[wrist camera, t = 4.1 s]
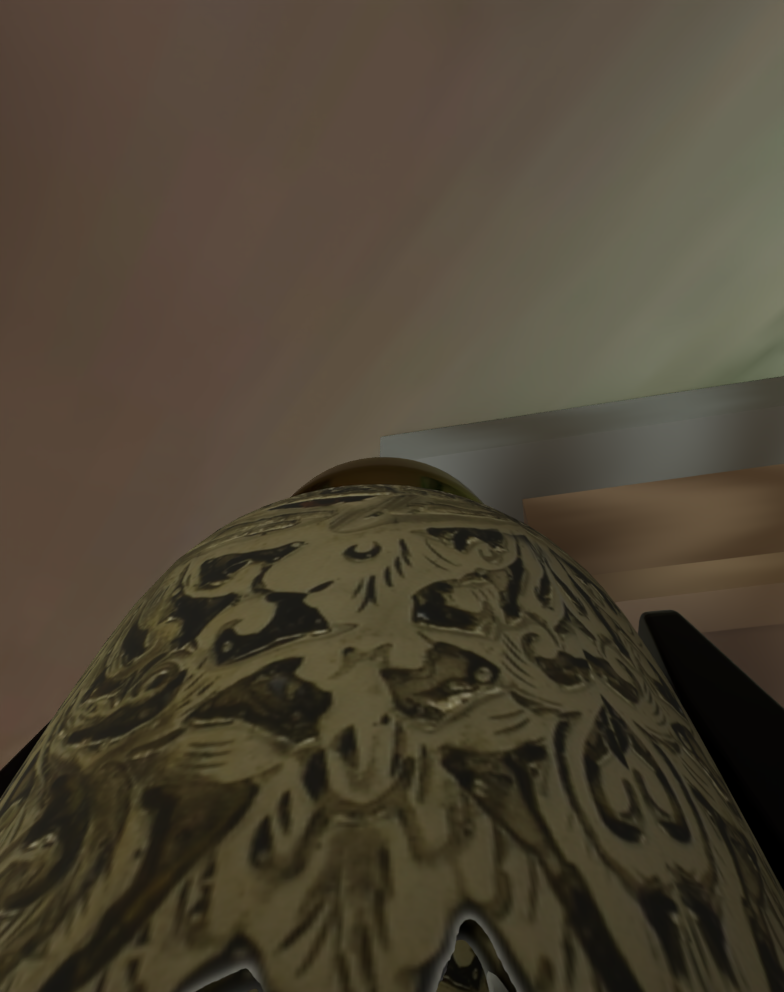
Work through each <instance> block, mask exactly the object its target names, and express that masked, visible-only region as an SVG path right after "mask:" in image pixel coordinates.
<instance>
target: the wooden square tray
mask: <svg viewBox="0 0 784 992" xmlns="http://www.w3.org/2000/svg"><path fill="white" fill-rule="evenodd" d="M380 457H395V458H404V459H410V460H414V461H418V462H422V463H426V464H428V465H431V466H434V467H436V468H438V469H441V470H443V471H445V472H447V473H448V474H450V475H452V476H453V477H455V478H456V479H458V480H459V481H460V482H462V483H463V484H464V485H465V486H467V487H468V488H469V489H470V490H471V491H472V492H473V493H474V494H475V495H476V496H477V497H478V498H479V499H480V500H481V501H482V502H483V503H484V504H485V505H487V506H489V507H492V508H494V509H496V510H498V511H500V512H502V513H504V514H506V515H509V516H511V517H513V518H515V519H517V520H519V521H521V522H523V523H525V524H527V525H528V526H530V527H531V528H533V529H535V530H536V531H538V532H539V533H541V534H543V535H544V536H546V537H547V538H549V539H550V540H551V541H552V542H553V543H555V544H556V545H557V546H558V547H560V548H561V549H562V550H563V551H565V552H566V553H567V554H568V555H569V556H570V557H572V558H573V559H574V560H575V561H576V562H578V563H579V564H580V565H581V566H582V567H583V568H585V569H586V570H587V571H588V572H589V573H590V574H591V576H592V577H593V578H594V579H595V580H596V581H597V582H598V583H599V584H600V585H601V586H602V587H603V588H604V590H605V591H606V592H607V593H608V595H609V596H610V597H611V598H612V600H613V601H614V602H615V603H616V605H617V606H618V607H619V608H620V610H621V611H622V612H623V613H624V615H625V616H626V617H627V619H628V620H629V622H630V623H631V625H632V626H633V628H634V629H635V631H636V632H637V633H638V627H639V619H640V616H641V614H642V613H644V612H648V611H658V610H674V611H677V612H678V613H680V614H681V615H682V616H683V617H684V618H685V619H686V620H688V621H689V622H690V623H691V624H692V625H693V626H694V627H695V628H696V629H697V630H699V631H700V632H701V633H702V634H703V635H704V636H705V637H706V638H707V639H708V640H710V641H711V642H712V643H713V644H714V645H715V646H716V647H717V648H718V649H719V650H720V651H722V652H723V653H724V654H725V655H726V656H727V657H728V658H729V659H730V660H731V661H733V662H734V663H735V664H736V665H737V666H738V667H739V668H740V669H741V670H742V671H744V672H745V673H746V674H747V675H748V676H749V677H750V678H751V679H752V680H753V681H755V682H756V683H757V684H758V685H759V686H760V687H761V688H762V689H763V690H764V691H766V692H767V693H768V694H769V695H770V696H771V697H772V698H773V699H774V700H775V701H777V702H778V703H779V704H780V705H781V706H782V707H783V708H784V376H782V377H776V378H769V379H762V380H756V381H749V382H742V383H736V384H729V385H722V386H716V387H709V388H703V389H696V390H689V391H683V392H676V393H669V394H663V395H656V396H650V397H643V398H636V399H630V400H623V401H616V402H610V403H603V404H597V405H590V406H583V407H577V408H570V409H563V410H557V411H550V412H544V413H537V414H530V415H524V416H517V417H510V418H504V419H497V420H490V421H484V422H477V423H471V424H464V425H457V426H451V427H444V428H437V429H431V430H424V431H418V432H411V433H404V434H398V435H391V436H384V437H381V443H380Z"/></svg>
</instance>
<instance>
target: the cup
mask: <svg viewBox="0 0 784 992" xmlns="http://www.w3.org/2000/svg"><path fill="white" fill-rule="evenodd" d="M0 992H784V891H783V889H782V887H781V885H780V883H779V881H778V880H777V878H776V876H775V874H774V872H773V870H772V868H771V866H770V865H769V863H768V861H767V859H766V857H765V855H764V853H763V852H762V850H761V848H760V846H759V844H758V842H757V840H756V839H755V837H754V835H753V833H752V831H751V829H750V827H749V826H748V824H747V822H746V820H745V818H744V816H743V814H742V813H741V811H740V809H739V807H738V805H737V803H736V802H735V800H734V798H733V796H732V794H731V792H730V791H729V789H728V787H727V785H726V783H725V781H724V779H723V778H722V776H721V774H720V772H719V770H718V768H717V767H716V765H715V763H714V761H713V759H712V758H711V756H710V754H709V752H708V750H707V748H706V747H705V745H704V743H703V741H702V739H701V737H700V736H699V734H698V732H697V730H696V728H695V727H694V725H693V723H692V721H691V719H690V718H689V716H688V714H687V712H686V711H685V709H684V707H683V706H682V704H681V702H680V700H679V699H678V697H677V695H676V694H675V692H674V690H673V688H672V687H671V685H670V683H669V682H668V680H667V678H666V676H665V675H664V673H663V672H662V670H661V669H660V667H659V665H658V664H657V662H656V661H655V659H654V658H653V656H652V655H651V653H650V652H649V650H648V649H647V647H646V646H645V644H644V643H643V641H642V639H641V638H640V636H639V635H638V633H637V632H636V631H635V629H634V628H633V626H632V625H631V623H630V622H629V620H628V619H627V617H626V616H625V615H624V613H623V612H622V611H621V610H620V608H619V607H618V606H617V605H616V603H615V602H614V601H613V600H612V598H611V597H610V596H609V595H608V593H607V592H606V591H605V590H604V588H603V587H602V586H601V585H600V584H599V583H598V582H597V581H596V580H595V579H594V578H593V577H592V576H591V574H590V573H589V572H588V571H587V570H586V569H585V568H583V567H582V566H581V565H580V564H579V563H578V562H576V561H575V560H574V559H573V558H572V557H570V556H569V555H568V554H567V553H566V552H565V551H563V550H562V549H561V548H560V547H558V546H557V545H556V544H555V543H553V542H552V541H551V540H550V539H549V538H547V537H546V536H544V535H543V534H541V533H539V532H538V531H536V530H535V529H533V528H531V527H530V526H528V525H527V524H525V523H523V522H521V521H519V520H517V519H515V518H513V517H511V516H509V515H506V514H504V513H502V512H500V511H498V510H496V509H494V508H492V507H489V506H487V505H485V504H484V503H483V502H482V501H481V500H480V499H479V498H478V497H477V496H476V495H475V494H474V493H473V492H472V491H471V490H470V489H469V488H468V487H467V486H465V485H464V484H463V483H462V482H460V481H459V480H458V479H456V478H455V477H453V476H452V475H450V474H448V473H447V472H445V471H443V470H441V469H438V468H436V467H434V466H431V465H428V464H426V463H422V462H418V461H414V460H410V459H404V458H395V457H373V458H365V459H359V460H354V461H350V462H346V463H343V464H340V465H337V466H335V467H333V468H331V469H328V470H326V471H325V472H323V473H321V474H319V475H318V476H316V477H314V478H313V479H312V480H310V481H309V482H307V483H306V484H305V485H303V486H302V487H301V488H300V489H299V490H298V491H297V492H295V493H294V494H293V495H292V496H291V497H290V498H287V499H284V500H281V501H278V502H275V503H272V504H270V505H267V506H264V507H262V508H260V509H257V510H255V511H253V512H251V513H248V514H246V515H244V516H242V517H239V518H238V519H236V520H234V521H233V522H231V523H229V524H227V525H226V526H224V527H222V528H221V529H219V530H217V531H216V532H215V533H213V534H212V535H210V536H209V537H208V538H206V539H205V540H203V541H202V542H201V543H199V544H198V545H197V546H195V547H194V548H193V549H191V550H190V551H189V552H187V553H186V554H185V555H183V556H182V557H181V558H180V559H178V560H177V561H176V562H175V563H174V564H173V565H172V566H171V567H170V568H169V569H168V570H167V571H166V572H165V573H164V574H163V575H162V576H161V577H160V578H159V579H158V580H157V581H156V583H155V584H154V585H153V586H152V587H151V588H150V589H149V590H148V591H147V592H146V593H145V594H144V595H143V596H142V597H141V598H140V599H139V601H138V602H137V603H136V604H135V605H134V606H133V608H132V609H131V610H130V611H129V613H128V614H127V615H126V617H125V618H124V619H123V620H122V622H121V623H120V624H119V626H118V627H117V628H116V629H115V631H114V632H113V633H112V635H111V636H110V637H109V638H108V640H107V641H106V643H105V644H104V645H103V647H102V648H101V650H100V651H99V652H98V654H97V655H96V657H95V658H94V659H93V661H92V662H91V664H90V665H89V667H88V668H87V670H86V671H85V672H84V674H83V675H82V677H81V678H80V680H79V681H78V682H77V684H76V685H75V687H74V688H73V690H72V691H71V693H70V694H69V695H68V697H67V698H66V700H65V701H64V703H63V704H62V705H61V707H60V708H59V710H58V712H57V713H56V715H55V716H54V718H53V719H52V721H51V722H50V724H49V725H48V727H47V728H46V730H45V731H44V733H43V734H42V736H41V737H40V739H39V740H38V742H37V743H36V745H35V746H34V748H33V749H32V751H31V752H30V754H29V755H28V757H27V759H26V760H25V762H24V763H23V765H22V766H21V768H20V769H19V771H18V772H17V774H16V775H15V777H14V778H13V780H12V782H11V783H10V785H9V786H8V788H7V789H6V791H5V792H4V794H3V795H2V797H1V798H0Z"/></svg>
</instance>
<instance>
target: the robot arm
mask: <svg viewBox="0 0 784 992" xmlns="http://www.w3.org/2000/svg"><path fill="white" fill-rule="evenodd" d="M638 635H639V636H640V638H641V639H642V641H643V643H644V644H645V646H646V647H647V649H648V650H649V652H650V653H651V655H652V656H653V658H654V659H655V661H656V662H657V664H658V665H659V667H660V669H661V670H662V672H663V673H664V675H665V676H666V678H667V680H668V682H669V683H670V685H671V687H672V688H673V690H674V692H675V694H676V695H677V697H678V699H679V700H680V702H681V704H682V706H683V707H684V709H685V711H686V712H687V714H688V716H689V718H690V719H691V721H692V723H693V725H694V727H695V728H696V730H697V732H698V734H699V736H700V737H701V739H702V741H703V743H704V745H705V747H706V748H707V750H708V752H709V754H710V756H711V758H712V759H713V761H714V763H715V765H716V767H717V768H718V770H719V772H720V774H721V776H722V778H723V779H724V781H725V783H726V785H727V787H728V789H729V791H730V792H731V794H732V796H733V798H734V800H735V802H736V803H737V805H738V807H739V809H740V811H741V813H742V814H743V816H744V818H745V820H746V822H747V824H748V826H749V827H750V829H751V831H752V833H753V835H754V837H755V839H756V840H757V842H758V844H759V846H760V848H761V850H762V852H763V853H764V855H765V857H766V859H767V861H768V863H769V865H770V866H771V868H772V870H773V872H774V874H775V876H776V878H777V880H778V881H779V883H780V885H781V887H782V889H783V891H784V708H783V707H782V706H781V705H780V704H779V703H778V702H777V701H775V700H774V699H773V698H772V697H771V696H770V695H769V694H768V693H767V692H766V691H764V690H763V689H762V688H761V687H760V686H759V685H758V684H757V683H756V682H755V681H753V680H752V679H751V678H750V677H749V676H748V675H747V674H746V673H745V672H744V671H742V670H741V669H740V668H739V667H738V666H737V665H736V664H735V663H734V662H733V661H731V660H730V659H729V658H728V657H727V656H726V655H725V654H724V653H723V652H722V651H720V650H719V649H718V648H717V647H716V646H715V645H714V644H713V643H712V642H711V641H710V640H708V639H707V638H706V637H705V636H704V635H703V634H702V633H701V632H700V631H699V630H697V629H696V628H695V627H694V626H693V625H692V624H691V623H690V622H689V621H688V620H686V619H685V618H684V617H683V616H682V615H681V614H680V613H678V612H677V611H674V610H658V611H648V612H644V613H642V614H641V616H640V619H639V627H638ZM51 721H52V720H51ZM51 721H50V722H51ZM50 722H49V723H48V724H47V725H46V726H45V727H44V728H43V729H42V730H41V731H40V732H39V733H38V734H37V735H36V736H35V737H34V738H33V739H32V740H31V741H30V742H29V743H28V744H27V745H26V746H25V747H24V748H23V749H22V750H20V751H19V752H18V753H17V754H16V755H15V756H14V757H13V758H12V759H11V760H10V761H9V762H8V763H7V764H6V765H5V766H4V767H3V768H2V769H1V770H0V798H1V797H2V795H3V794H4V792H5V791H6V789H7V788H8V786H9V785H10V783H11V782H12V780H13V778H14V777H15V775H16V774H17V772H18V771H19V769H20V768H21V766H22V765H23V763H24V762H25V760H26V759H27V757H28V755H29V754H30V752H31V751H32V749H33V748H34V746H35V745H36V743H37V742H38V740H39V739H40V737H41V736H42V734H43V733H44V731H45V730H46V728H47V727H48V725H49V724H50Z"/></svg>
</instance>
